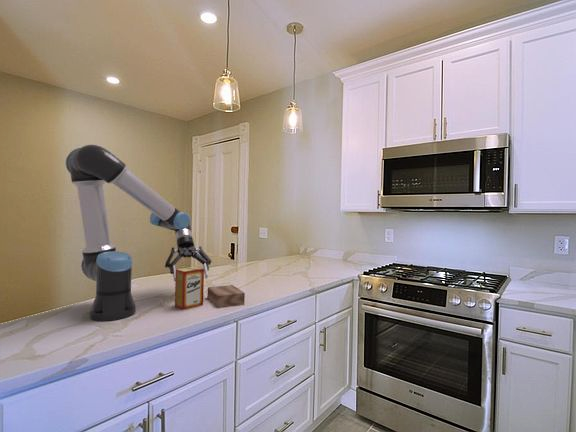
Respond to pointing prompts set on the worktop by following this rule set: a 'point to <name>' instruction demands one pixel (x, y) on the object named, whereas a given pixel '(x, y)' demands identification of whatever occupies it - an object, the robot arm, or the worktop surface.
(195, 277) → the orange cardboard box
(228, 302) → the block
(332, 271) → the worktop surface
